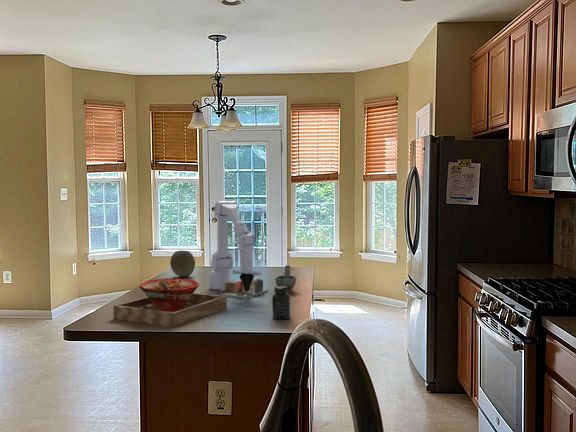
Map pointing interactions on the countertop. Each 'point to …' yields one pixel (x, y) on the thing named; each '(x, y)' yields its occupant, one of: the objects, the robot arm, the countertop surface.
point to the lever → (239, 288)
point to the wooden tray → (202, 307)
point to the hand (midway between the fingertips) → (247, 290)
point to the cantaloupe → (182, 263)
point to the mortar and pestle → (286, 279)
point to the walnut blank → (230, 286)
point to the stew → (168, 293)
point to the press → (257, 288)
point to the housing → (251, 285)
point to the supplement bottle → (281, 303)
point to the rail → (247, 296)
